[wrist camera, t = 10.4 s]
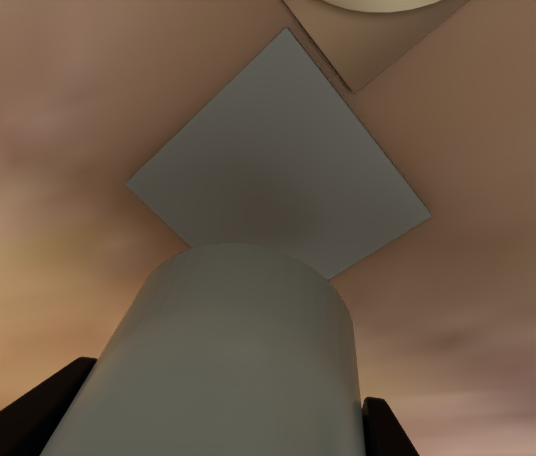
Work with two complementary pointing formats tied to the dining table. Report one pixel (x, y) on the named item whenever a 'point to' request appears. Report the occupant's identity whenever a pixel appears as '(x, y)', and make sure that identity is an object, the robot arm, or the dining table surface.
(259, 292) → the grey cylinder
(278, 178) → the mat
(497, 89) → the dining table surface
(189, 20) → the dining table surface
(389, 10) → the turntable
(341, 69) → the turntable base
